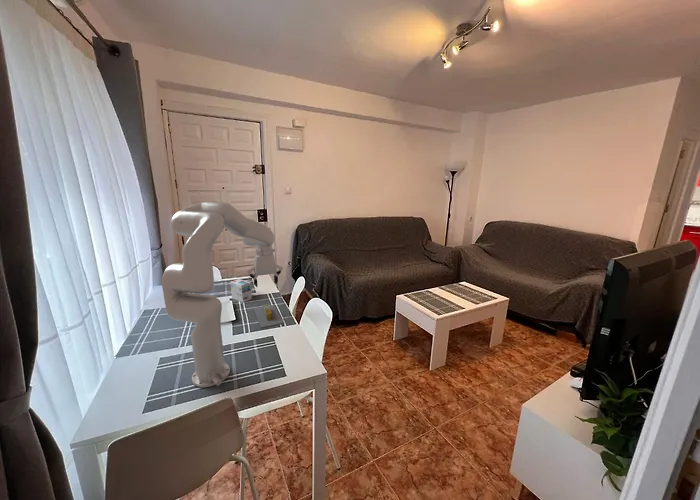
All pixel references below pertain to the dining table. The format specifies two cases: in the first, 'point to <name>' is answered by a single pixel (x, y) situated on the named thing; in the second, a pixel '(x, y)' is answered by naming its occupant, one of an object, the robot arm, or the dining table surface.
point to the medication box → (267, 312)
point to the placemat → (263, 319)
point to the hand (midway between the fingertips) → (266, 284)
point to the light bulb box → (241, 290)
